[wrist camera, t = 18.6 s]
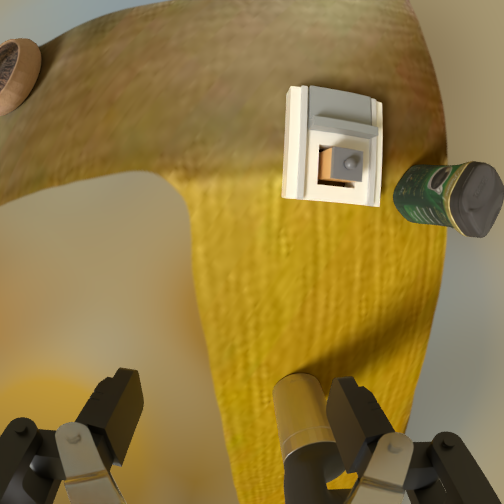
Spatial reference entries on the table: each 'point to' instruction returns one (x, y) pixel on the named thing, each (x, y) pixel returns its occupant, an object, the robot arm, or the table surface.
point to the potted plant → (17, 72)
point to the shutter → (340, 113)
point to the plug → (340, 165)
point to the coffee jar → (451, 196)
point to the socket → (310, 141)
